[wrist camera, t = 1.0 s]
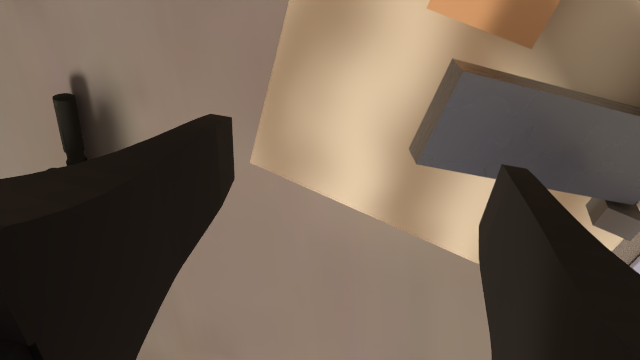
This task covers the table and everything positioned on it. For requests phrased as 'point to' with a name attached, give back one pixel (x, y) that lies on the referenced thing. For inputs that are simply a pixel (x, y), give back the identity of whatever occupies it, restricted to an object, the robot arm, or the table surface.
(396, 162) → the board
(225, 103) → the table surface
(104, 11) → the table surface
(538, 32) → the manila folder slab
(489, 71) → the gray rectangular block
